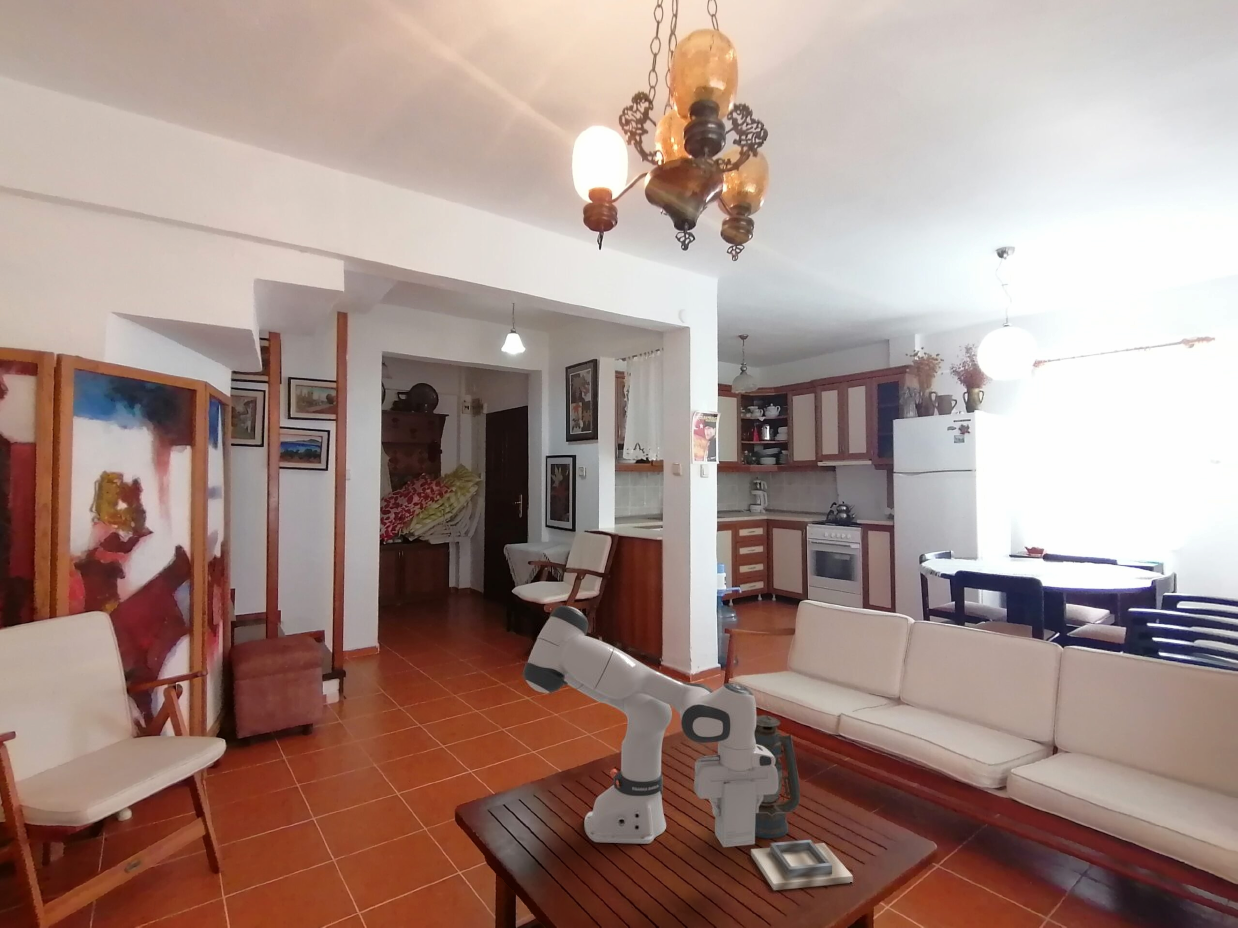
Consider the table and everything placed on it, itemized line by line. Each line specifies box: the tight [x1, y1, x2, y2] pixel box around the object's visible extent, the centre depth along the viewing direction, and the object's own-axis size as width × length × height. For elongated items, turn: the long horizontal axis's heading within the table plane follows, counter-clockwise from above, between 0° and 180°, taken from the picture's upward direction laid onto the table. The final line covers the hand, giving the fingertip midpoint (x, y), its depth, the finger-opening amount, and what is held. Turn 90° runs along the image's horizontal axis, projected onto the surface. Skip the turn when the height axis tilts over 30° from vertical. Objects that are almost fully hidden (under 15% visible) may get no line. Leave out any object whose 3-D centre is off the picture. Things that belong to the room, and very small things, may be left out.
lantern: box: [754, 714, 801, 839], centre depth 174 cm, size 19×14×30 cm
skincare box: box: [714, 780, 757, 848], centre depth 149 cm, size 8×6×15 cm
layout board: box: [750, 839, 854, 891], centre depth 155 cm, size 20×14×4 cm
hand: (735, 813), depth 149 cm, fingers closed on skincare box, 8 cm apart
